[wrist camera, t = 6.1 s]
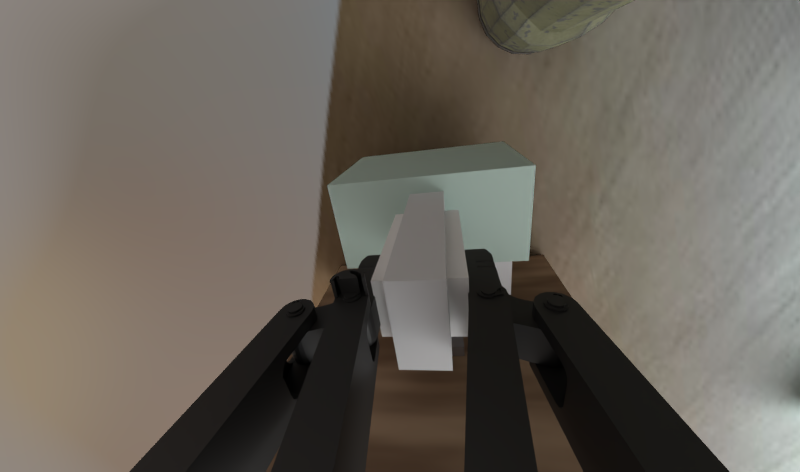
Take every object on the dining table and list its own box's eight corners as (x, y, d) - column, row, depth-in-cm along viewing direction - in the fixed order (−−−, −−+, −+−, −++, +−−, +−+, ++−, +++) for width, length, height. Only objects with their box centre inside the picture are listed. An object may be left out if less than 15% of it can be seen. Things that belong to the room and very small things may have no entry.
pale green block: (362, 157, 26) (231, 261, 9) (503, 141, 23) (638, 240, 7) (379, 249, 29) (306, 433, 13) (500, 242, 27) (585, 449, 11)
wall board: (335, 244, 35) (76, 624, 10) (545, 230, 31) (1004, 795, 6) (353, 315, 39) (209, 695, 14) (537, 310, 36) (778, 816, 11)
